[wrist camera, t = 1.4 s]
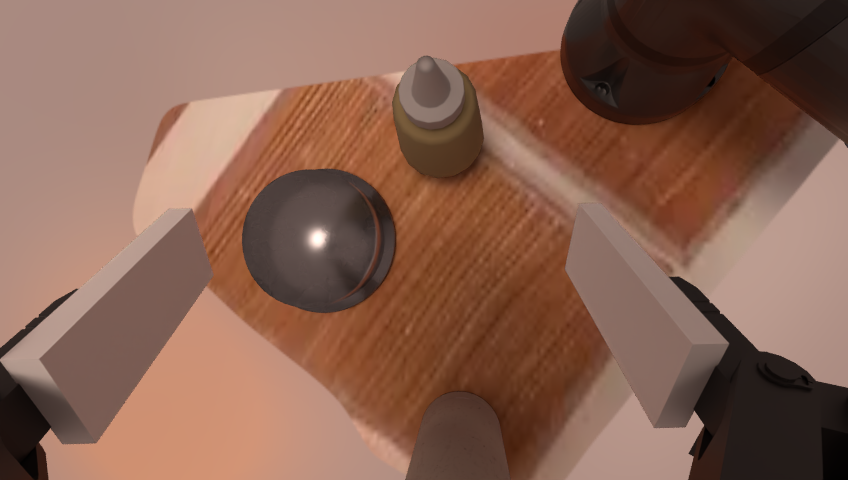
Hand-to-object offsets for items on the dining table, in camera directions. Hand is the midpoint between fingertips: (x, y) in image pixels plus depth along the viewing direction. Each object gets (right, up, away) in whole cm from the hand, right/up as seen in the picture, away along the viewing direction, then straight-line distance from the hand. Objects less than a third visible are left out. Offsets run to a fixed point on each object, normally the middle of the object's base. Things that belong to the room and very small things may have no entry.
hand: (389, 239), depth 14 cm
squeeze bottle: (+3, +10, +28) cm, 30 cm away
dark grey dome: (-9, 0, +29) cm, 31 cm away
